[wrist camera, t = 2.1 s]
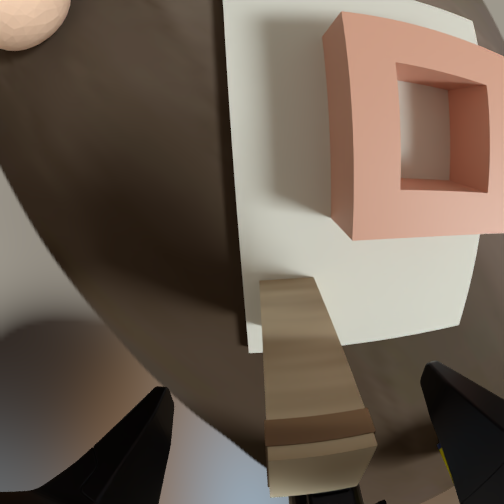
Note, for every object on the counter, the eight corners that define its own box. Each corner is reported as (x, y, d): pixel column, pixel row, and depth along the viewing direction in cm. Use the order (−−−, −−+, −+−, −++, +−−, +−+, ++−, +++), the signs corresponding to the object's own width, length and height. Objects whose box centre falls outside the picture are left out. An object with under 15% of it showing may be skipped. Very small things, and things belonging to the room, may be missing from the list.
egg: (82, -27, 8) (26, -67, 3) (94, 26, 10) (25, -11, 4) (21, 17, 9) (-43, -1, 3) (29, 72, 10) (-46, 64, 5)
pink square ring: (470, 214, 13) (506, 233, 10) (331, 218, 13) (352, 240, 10) (468, 64, 10) (506, 57, 7) (322, 36, 10) (341, 11, 7)
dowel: (312, 322, 15) (357, 486, 6) (260, 326, 15) (268, 498, 6) (314, 276, 14) (380, 443, 5) (257, 279, 14) (265, 459, 5)
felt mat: (454, 320, 16) (458, 324, 15) (249, 347, 16) (248, 353, 15) (467, 23, 9) (472, 21, 9) (223, -12, 9) (222, -17, 9)
